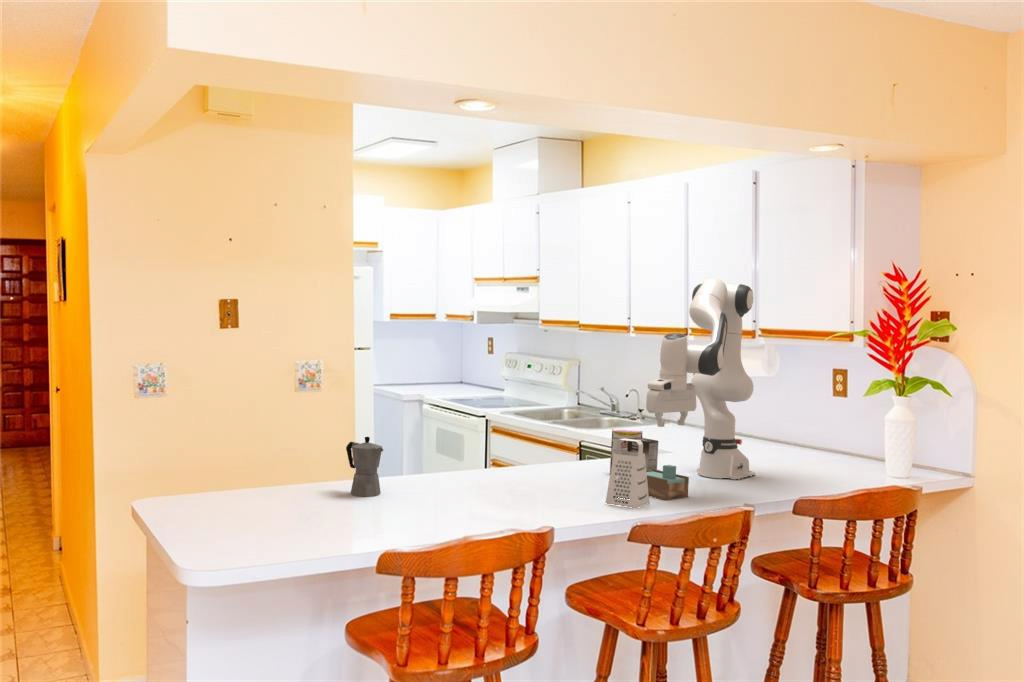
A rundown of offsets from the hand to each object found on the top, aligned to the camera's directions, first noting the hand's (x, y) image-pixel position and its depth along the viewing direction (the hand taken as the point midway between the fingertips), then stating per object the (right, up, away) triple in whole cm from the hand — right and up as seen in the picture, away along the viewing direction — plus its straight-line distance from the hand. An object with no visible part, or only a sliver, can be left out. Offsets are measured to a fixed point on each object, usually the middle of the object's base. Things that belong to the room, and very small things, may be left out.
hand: (671, 425), depth 295 cm
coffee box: (-7, -22, +18) cm, 30 cm away
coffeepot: (-98, -20, -11) cm, 101 cm away
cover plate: (-3, -18, +4) cm, 19 cm away
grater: (-16, -23, -12) cm, 31 cm away
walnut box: (-3, -23, +4) cm, 24 cm away
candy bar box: (-10, -22, +37) cm, 44 cm away
